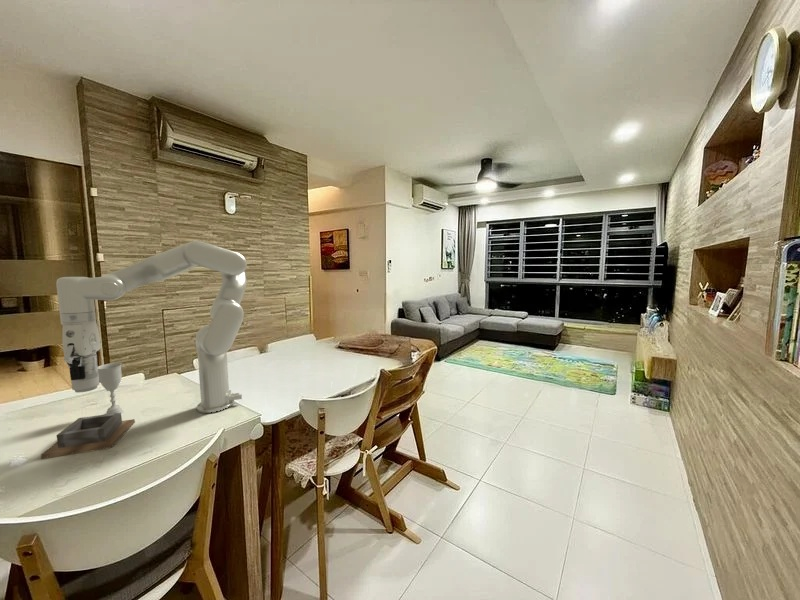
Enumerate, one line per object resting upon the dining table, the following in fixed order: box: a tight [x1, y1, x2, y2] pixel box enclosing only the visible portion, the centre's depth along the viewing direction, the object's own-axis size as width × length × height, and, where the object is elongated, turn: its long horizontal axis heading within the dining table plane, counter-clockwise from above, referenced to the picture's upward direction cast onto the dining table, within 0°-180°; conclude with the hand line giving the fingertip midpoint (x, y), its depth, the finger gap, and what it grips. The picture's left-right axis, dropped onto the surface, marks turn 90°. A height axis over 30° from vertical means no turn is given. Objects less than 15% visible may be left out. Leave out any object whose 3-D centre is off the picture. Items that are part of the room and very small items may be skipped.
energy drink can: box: [70, 346, 100, 393], centre depth 97 cm, size 6×6×15 cm
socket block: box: [40, 413, 136, 459], centre depth 100 cm, size 16×16×5 cm
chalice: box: [98, 362, 124, 415], centre depth 116 cm, size 7×7×18 cm
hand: (84, 375), depth 98 cm, fingers closed on energy drink can, 6 cm apart
